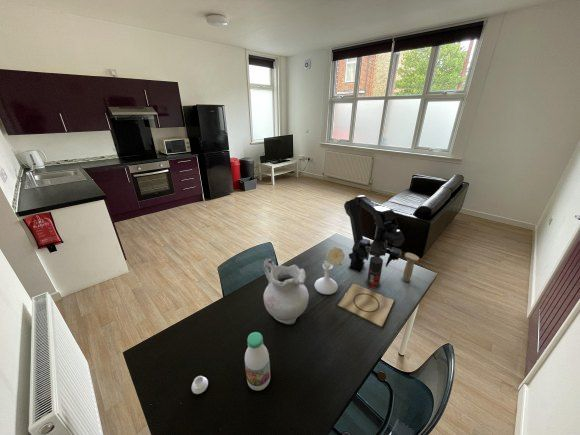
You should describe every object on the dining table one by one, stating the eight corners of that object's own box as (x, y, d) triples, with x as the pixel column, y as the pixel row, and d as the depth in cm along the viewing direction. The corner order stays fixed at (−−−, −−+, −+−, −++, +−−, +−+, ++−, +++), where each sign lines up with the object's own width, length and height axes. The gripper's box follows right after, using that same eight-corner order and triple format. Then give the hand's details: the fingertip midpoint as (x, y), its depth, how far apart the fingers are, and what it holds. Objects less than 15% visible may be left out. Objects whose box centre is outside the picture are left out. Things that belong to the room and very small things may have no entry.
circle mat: (337, 305, 109) (337, 304, 109) (353, 284, 122) (353, 283, 122) (382, 327, 98) (382, 326, 98) (393, 301, 111) (394, 300, 111)
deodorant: (378, 281, 124) (383, 257, 117) (378, 288, 119) (383, 264, 112) (367, 278, 125) (370, 255, 119) (366, 286, 120) (370, 262, 114)
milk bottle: (248, 368, 83) (243, 328, 74) (270, 366, 84) (267, 326, 75) (246, 392, 76) (240, 351, 67) (270, 390, 77) (267, 348, 68)
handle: (403, 275, 128) (409, 251, 122) (414, 282, 123) (421, 258, 117) (397, 278, 126) (403, 254, 119) (408, 285, 121) (414, 260, 114)
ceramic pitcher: (252, 319, 103) (245, 276, 91) (273, 288, 119) (270, 248, 106) (297, 338, 95) (296, 293, 83) (314, 302, 110) (315, 260, 98)
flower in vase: (311, 293, 116) (313, 249, 105) (318, 278, 126) (320, 237, 115) (338, 300, 112) (343, 256, 101) (342, 285, 121) (347, 243, 111)
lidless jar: (205, 394, 76) (209, 378, 80) (204, 388, 74) (208, 372, 79) (189, 394, 76) (194, 378, 80) (188, 389, 74) (193, 373, 79)
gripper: (355, 236, 109) (352, 264, 116) (398, 249, 99) (391, 279, 106) (364, 227, 117) (360, 254, 124) (404, 238, 107) (398, 266, 114)
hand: (376, 263), depth 116 cm, fingers open, 9 cm apart
